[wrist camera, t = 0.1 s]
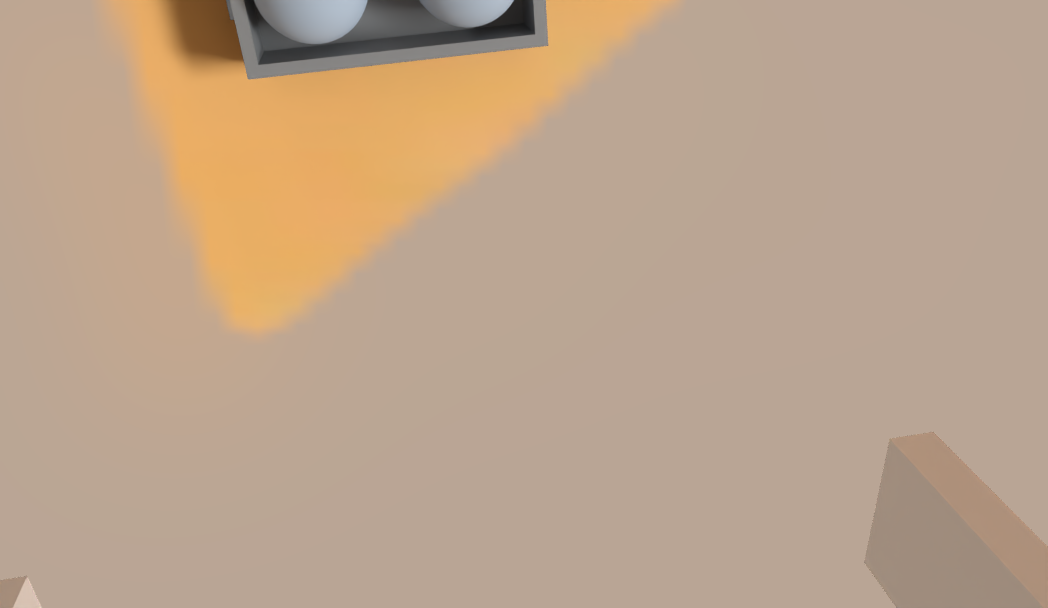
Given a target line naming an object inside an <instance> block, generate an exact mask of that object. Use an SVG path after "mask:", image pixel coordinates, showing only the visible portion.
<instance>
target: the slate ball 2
mask: <svg viewBox="0 0 1048 608" xmlns="http://www.w3.org/2000/svg"><path fill="white" fill-rule="evenodd" d="M513 1H514V0H420V2H421V3H422V5H423V6H424V7H425V8H426V9H427V10H428V11H429V12H430V13H431V14H432V15H433V16H435V17H436V18H437V19H439V20H441V21H443V22H444V23H447V24H449V25H452V26H457V27H464V28H468V27H477V26H482V25H485V24H487V23H490V22H492V21H494V20H495V19H497V18H498V17H500V16H501V15H502V14H503V13H504V12H505V11H506V10H507V9H508V8H509V7H510V5H511V4H512V2H513Z"/></svg>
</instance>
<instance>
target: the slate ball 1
mask: <svg viewBox="0 0 1048 608" xmlns="http://www.w3.org/2000/svg"><path fill="white" fill-rule="evenodd" d="M367 1H368V0H254V2H255V4H256V6H257V8H258V10H259V12H260V13H261V15H262V16H263V18H264V19H265V20H266V21H267V22H268V23H269V25H270V26H271V27H273V28H274V29H275V30H276V31H277V32H279V33H280V34H282V35H283V36H285V37H287V38H289V39H292V40H294V41H297V42H301V43H306V44H323V43H328V42H331V41H334V40H337V39H339V38H341V37H343V36H344V35H346V34H347V33H348V32H349V31H351V30H352V29H353V28H354V27H355V25H356V24H357V23H358V22H359V20H360V18H361V17H362V15H363V12H364V10H365V8H366V4H367Z"/></svg>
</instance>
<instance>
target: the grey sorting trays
mask: <svg viewBox="0 0 1048 608" xmlns="http://www.w3.org/2000/svg"><path fill="white" fill-rule="evenodd" d="M226 2H227V7H228V11H229V15H230V20H234V21H235V25H236V29H237V34H238V38H239V42H240V47H241V51H242V55H243V60H244V64H245V68H246V72H247V77H248V79H257V78H266V77H274V76H283V75H292V74H301V73H310V72H319V71H328V70H337V69H345V68H354V67H363V66H372V65H381V64H390V63H399V62H408V61H416V60H425V59H434V58H443V57H452V56H461V55H470V54H478V53H487V52H496V51H505V50H514V49H523V48H532V47H541V46H548V34H547V16H546V0H514V1H513V2H512V4H511V5H510V7H509V8H508V9H507V10H506V11H505V12H504V13H503V14H502V15H501V16H500V17H498V18H497V19H495V20H494V21H492V22H490V23H487V24H485V25H482V26H477V27H468V28H464V27H457V26H452V25H449V24H447V23H444V22H443V21H441V20H439V19H437V18H436V17H435V16H433V15H432V14H431V13H430V12H429V11H428V10H427V9H426V8H425V7H424V6H423V5H422V3H421V2H420V0H368V1H367V4H366V8H365V10H364V12H363V15H362V17H361V18H360V20H359V22H358V23H357V24H356V25H355V27H354V28H353V29H352V30H351V31H349V32H348V33H347V34H346V35H344V36H343V37H341V38H339V39H337V40H334V41H331V42H328V43H323V44H306V43H301V42H297V41H294V40H292V39H289V38H287V37H285V36H283V35H282V34H280V33H279V32H277V31H276V30H275V29H274V28H273V27H271V26H270V25H269V23H268V22H267V21H266V20H265V19H264V18H263V16H262V15H261V13H260V12H259V10H258V8H257V6H256V4H255V2H254V0H226Z"/></svg>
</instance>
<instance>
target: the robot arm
mask: <svg viewBox="0 0 1048 608" xmlns="http://www.w3.org/2000/svg"><path fill="white" fill-rule="evenodd" d="M864 563H865V564H866V566H867V567H868V568H869V570H870V571H871V573H872V574H873V575H874V577H875V578H876V579H877V581H878V582H879V584H880V585H881V586H882V587H883V589H884V591H885V592H886V594H887V595H888V596H889V598H890V599H891V600H892V602H893V603H894V604H895V606H896V608H1048V546H1046V544H1045V543H1044V542H1042V540H1040V538H1039V537H1038V536H1037V535H1035V533H1034V532H1033V531H1032V530H1031V529H1030V528H1029V527H1028V526H1026V524H1025V523H1024V522H1023V521H1022V520H1021V519H1020V518H1019V517H1018V516H1017V515H1016V514H1014V513H1013V511H1012V510H1011V509H1009V507H1008V506H1006V504H1005V503H1004V502H1003V501H1002V500H1000V498H999V497H998V496H997V495H996V494H995V493H994V492H993V491H992V490H991V489H990V488H989V487H988V486H987V485H986V484H985V483H984V482H983V481H982V480H981V479H980V478H979V477H978V476H977V475H976V474H975V473H974V472H973V471H972V470H971V469H970V468H969V467H968V466H967V465H966V464H965V463H964V462H963V461H962V460H961V459H959V457H958V456H957V455H956V454H955V453H954V452H953V451H952V450H951V449H950V448H949V447H947V445H946V444H945V443H944V442H943V441H942V440H941V439H940V438H939V437H938V436H937V435H936V434H935V433H934V432H929V433H923V434H917V435H911V436H905V437H898V438H892V439H890V440H889V445H888V450H887V455H886V459H885V464H884V469H883V474H882V479H881V484H880V489H879V493H878V498H877V503H876V508H875V513H874V518H873V523H872V527H871V532H870V537H869V542H868V547H867V552H866V557H865V562H864ZM0 608H42V607H41V605H40V603H39V601H38V598H37V596H36V594H35V592H34V590H33V588H32V585H31V583H30V581H29V579H28V577H27V576H24V577H18V578H12V579H6V580H0Z"/></svg>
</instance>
